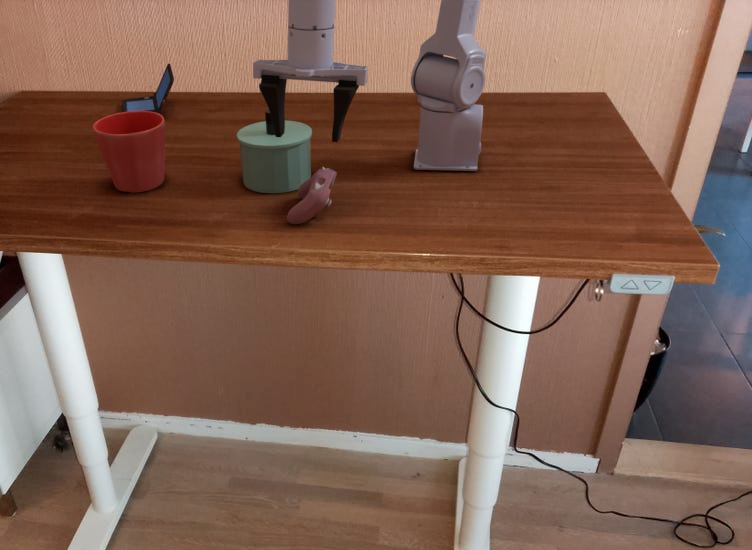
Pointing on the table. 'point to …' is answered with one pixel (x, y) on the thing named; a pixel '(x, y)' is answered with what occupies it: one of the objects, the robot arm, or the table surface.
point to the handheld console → (155, 101)
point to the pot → (276, 168)
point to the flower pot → (133, 149)
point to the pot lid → (273, 134)
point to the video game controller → (313, 196)
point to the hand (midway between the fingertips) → (307, 137)
